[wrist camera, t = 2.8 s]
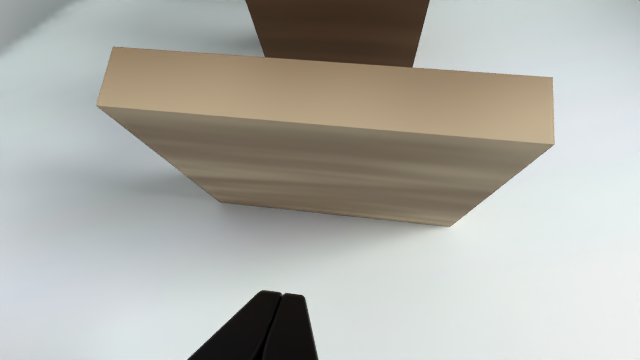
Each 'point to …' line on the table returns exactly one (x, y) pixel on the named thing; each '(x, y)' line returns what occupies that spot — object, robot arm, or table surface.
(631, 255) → the table surface
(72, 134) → the table surface
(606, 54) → the table surface
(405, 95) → the square wooden board
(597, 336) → the table surface
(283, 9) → the domino
